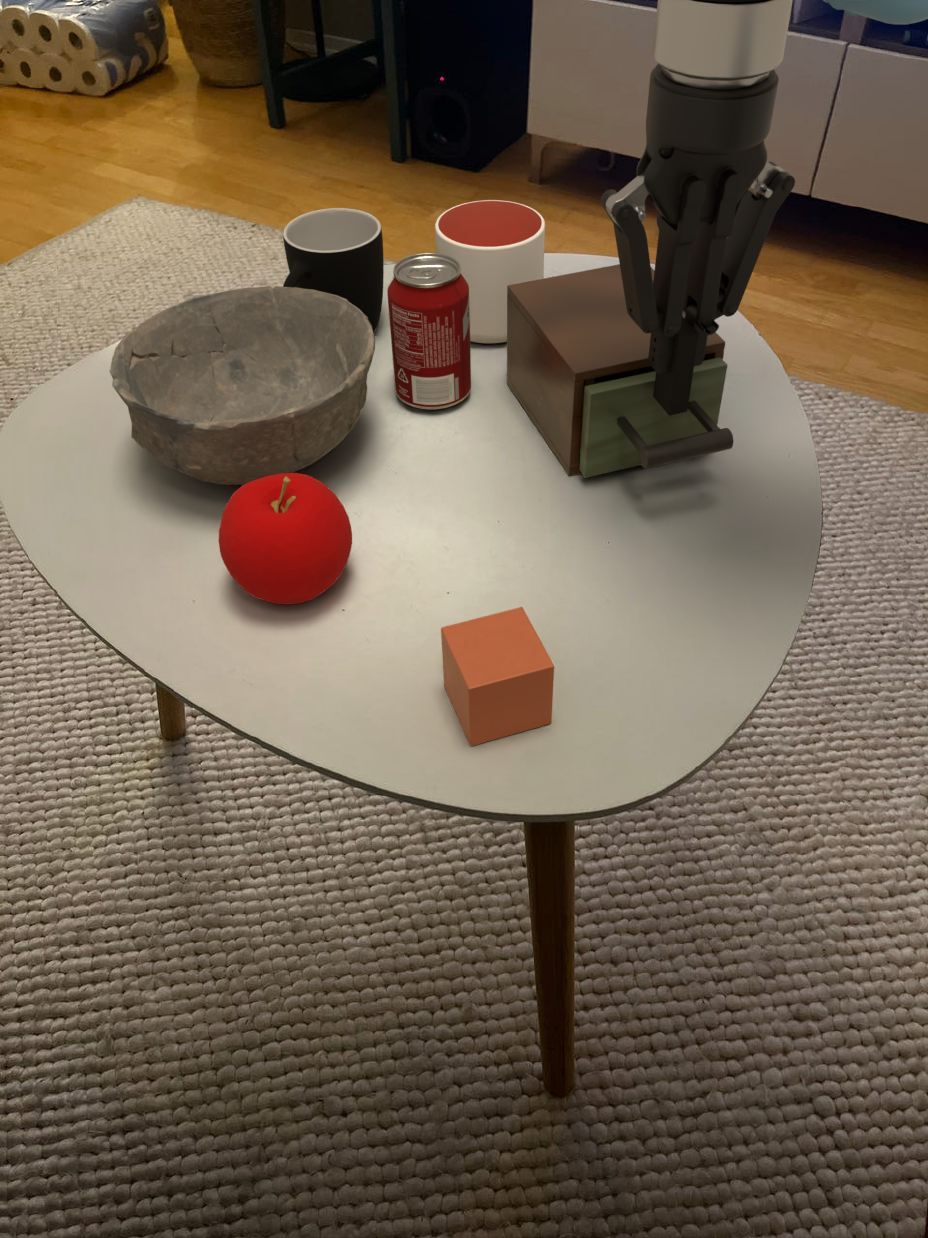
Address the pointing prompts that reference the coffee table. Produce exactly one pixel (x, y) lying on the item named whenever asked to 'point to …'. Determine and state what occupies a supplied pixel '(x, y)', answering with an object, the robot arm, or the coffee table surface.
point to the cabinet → (572, 349)
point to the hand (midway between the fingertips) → (670, 403)
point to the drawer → (649, 421)
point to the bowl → (245, 381)
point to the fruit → (285, 538)
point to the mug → (338, 257)
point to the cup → (492, 257)
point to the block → (497, 675)
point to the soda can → (430, 331)
